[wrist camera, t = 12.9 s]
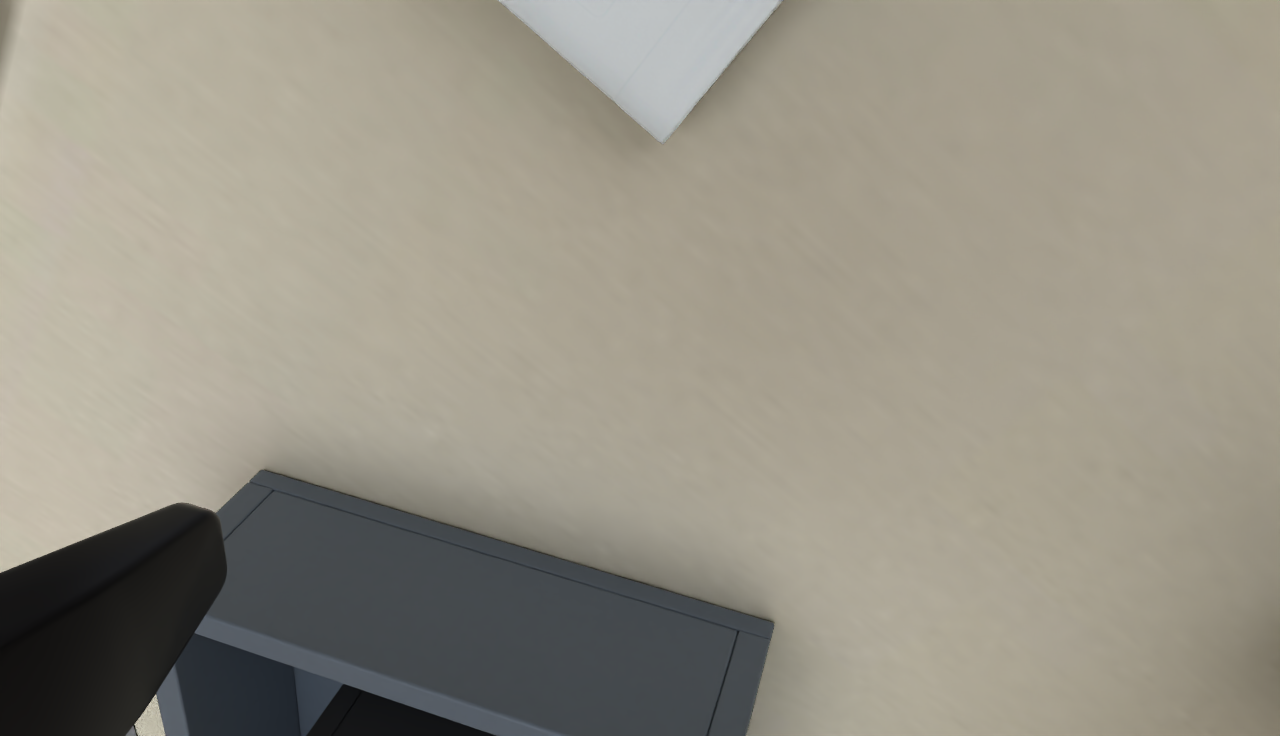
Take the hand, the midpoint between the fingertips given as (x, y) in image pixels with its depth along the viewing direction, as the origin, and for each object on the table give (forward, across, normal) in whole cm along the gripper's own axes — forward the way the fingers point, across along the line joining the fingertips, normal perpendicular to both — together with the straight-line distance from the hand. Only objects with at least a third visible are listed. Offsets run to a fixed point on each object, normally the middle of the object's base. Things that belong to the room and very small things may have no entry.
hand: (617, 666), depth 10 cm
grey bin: (+12, +6, +19) cm, 23 cm away
